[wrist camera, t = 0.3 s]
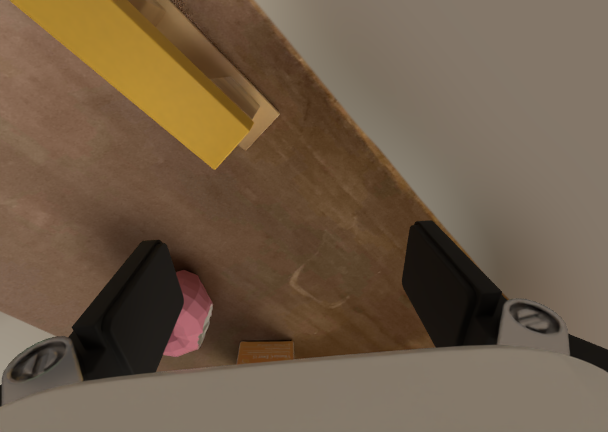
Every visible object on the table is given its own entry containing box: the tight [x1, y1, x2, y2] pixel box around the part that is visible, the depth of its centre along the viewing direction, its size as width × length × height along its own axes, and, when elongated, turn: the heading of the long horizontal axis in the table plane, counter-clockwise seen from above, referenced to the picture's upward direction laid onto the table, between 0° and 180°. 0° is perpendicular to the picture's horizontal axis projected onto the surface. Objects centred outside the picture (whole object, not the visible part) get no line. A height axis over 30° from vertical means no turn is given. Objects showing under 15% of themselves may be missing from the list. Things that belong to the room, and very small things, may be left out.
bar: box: [10, 0, 254, 170], centre depth 16 cm, size 14×3×3 cm, turn 44°
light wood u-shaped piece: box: [128, 0, 280, 151], centre depth 21 cm, size 17×5×9 cm, turn 44°
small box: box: [236, 341, 294, 365], centre depth 38 cm, size 8×6×13 cm
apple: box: [163, 270, 213, 357], centre depth 32 cm, size 10×9×10 cm
